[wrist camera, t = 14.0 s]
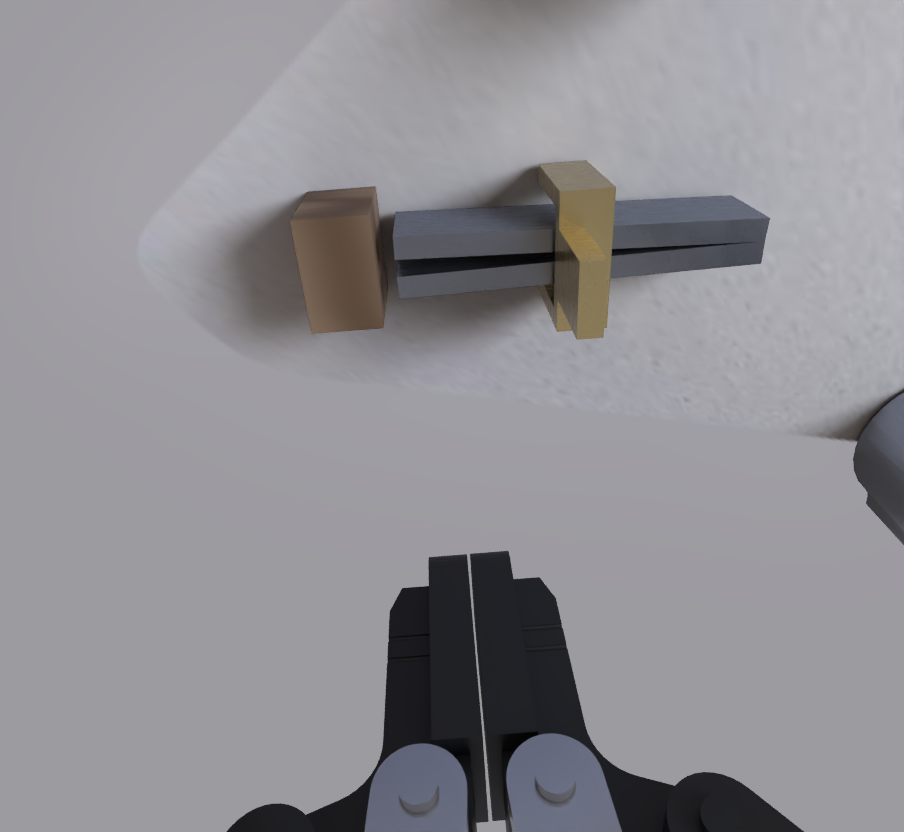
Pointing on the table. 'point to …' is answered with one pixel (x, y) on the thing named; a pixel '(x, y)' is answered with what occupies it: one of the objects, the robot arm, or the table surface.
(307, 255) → the block
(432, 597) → the robot arm
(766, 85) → the table surface
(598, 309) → the collar
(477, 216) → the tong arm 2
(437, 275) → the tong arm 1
